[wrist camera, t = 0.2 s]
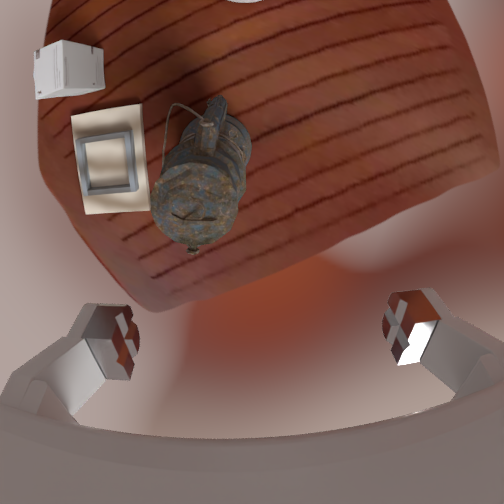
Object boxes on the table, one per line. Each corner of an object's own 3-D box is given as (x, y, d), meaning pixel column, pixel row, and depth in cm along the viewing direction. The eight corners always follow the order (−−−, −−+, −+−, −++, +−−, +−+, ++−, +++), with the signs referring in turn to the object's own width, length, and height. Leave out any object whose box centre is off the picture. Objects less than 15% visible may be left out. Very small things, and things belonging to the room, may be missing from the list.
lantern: (242, 202, 57) (247, 307, 31) (166, 193, 56) (112, 290, 30) (260, 99, 48) (286, 109, 22) (177, 90, 46) (109, 93, 20)
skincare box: (106, 88, 45) (66, 91, 32) (78, 95, 45) (34, 102, 32) (103, 46, 41) (63, 38, 28) (75, 55, 41) (31, 51, 28)
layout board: (74, 115, 46) (66, 117, 43) (142, 103, 47) (135, 104, 44) (88, 211, 56) (81, 218, 53) (151, 207, 57) (146, 214, 54)
